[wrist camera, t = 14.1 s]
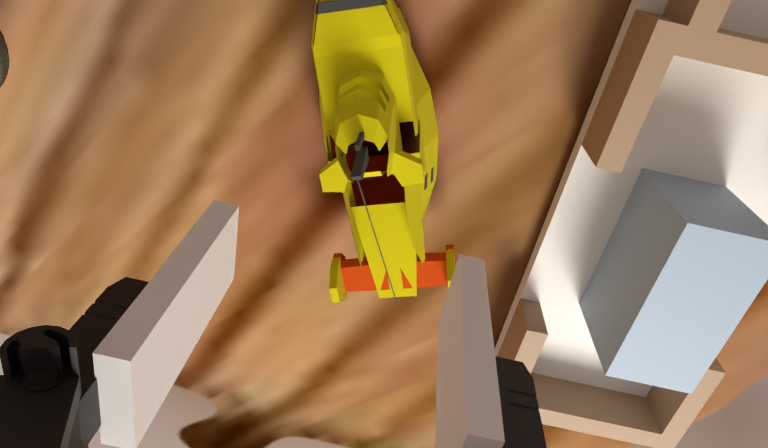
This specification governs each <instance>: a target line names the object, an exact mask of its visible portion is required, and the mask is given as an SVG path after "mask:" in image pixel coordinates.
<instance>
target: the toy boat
mask: <svg viewBox="0 0 768 448" xmlns="http://www.w3.org/2000/svg"><path fill="white" fill-rule="evenodd" d="M311 47H312V53H313V58H314V64H315V70H316V75H317V81H318V87H319V92H320V97H319V104H320V113H321V122H322V130H323V139H324V146H325V149H326V152H327V155H328V164H327V165H326V166H324V167H323V168H322V169H321V170H320V174H319V176H320V181H321V186H322V190H323V192H342V193H343V196H344V200H345V204H346V209H347V213H348V217H349V221H350V225H351V230H352V234H353V238H354V242H355V246H356V251H357V255H358V258H356V259H347V260H345V256H344V255H343V254H342V253H336V254H334V256H333V260H332V264H331V269H330V285H329V290H330V294H331V298H332V302H333V303H335V302H342V301H344V300H346V297H347V293H348V291H371V290H377V292H378V295H379V298H395V300H396V298H397V297H413V296H417V288H419V287H430V286H441V285H448V289H449V286H450V283H451V280H452V277H453V274H454V271H455V268H456V264H455V253H454V245H446V252H445V253H425V248H424V236H423V221H424V218H425V214H426V211H427V208H428V204H429V201H430V197H431V194H432V191H433V187H434V184H435V181H436V177H437V158H438V139H439V132H438V127H437V122H436V116H435V111H434V106H433V100H432V95H431V90H430V86H429V84H428V82H427V80H426V77H425V75H424V73H423V71H422V69H421V66H420V64H419V62H418V60H417V58H416V56H415V53H414V51H413V49H412V47H411V40H410V33H409V28H408V26H407V24H406V22H405V20H404V17H403V15H402V13H401V11H400V9H399V7H398V6H396V4H395V2H394V0H316V4H315V12H314V21H313V29H312V38H311ZM411 121H413V124H414V131H415V136H417V140H418V145H419V150H420V152H418V153H412V154H411V153H410V152H404V151H403V147H402V140H401V132H400V125H399V123H401V122H411ZM388 138H389V139H388ZM364 140H366V141H370V142H373V143H375V145H376V146H377V148H378V150H379V151H380V150H381V148H382V147H383V145H384V144H385V143H386V141H387V140H388V150H389V154H387V155H377V156H369V155H368V148H367V146H362V144H363V141H364ZM354 142H356V143H355V145H354V147H355V151H357V152H356V156H355V161H354V158H353V155H352V151H351V148H350V144H352V143H354ZM396 303H397V300H396ZM397 306H398V303H397Z"/></svg>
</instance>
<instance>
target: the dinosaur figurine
mask: <svg viewBox="0 0 768 448" xmlns="http://www.w3.org/2000/svg"><path fill="white" fill-rule="evenodd" d="M8 68H9V55H8V49H7V45H6V43H5V39H4V36H3V34H2V32H1V31H0V87H1V86H2V85H3V83H4V81H5V79H6V76H7V73H8Z"/></svg>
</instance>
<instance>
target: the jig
mask: <svg viewBox="0 0 768 448" xmlns="http://www.w3.org/2000/svg"><path fill="white" fill-rule="evenodd" d="M642 168H645V169H649V170H654V171H658V172H663V173H667V174H672V175H676V176H681V177H685V178H689V179H694V180H698V181H703V182H707V183H712V184H716V185H721V186H725V187H727V188H728V189H729V190H730V191H731V192H732V193H733V194H735V195H736V196H737V197H738V198H739V199H740V200H741V201H742V202H743V203H744V204H745V205H746V206H748V207H749V208H750V209H751V210H752V211H753V212H754V213H755V214H756V215H757V216H758V217H759V218H761V219H762V220H763V221H764V222H765V223H766V224H767V225H768V0H631V3H630V5H629V8H628V10H627V13H626V16H625V18H624V21H623V23H622V26H621V28H620V31H619V33H618V36H617V38H616V41H615V44H614V46H613V49H612V51H611V54H610V56H609V59H608V61H607V64H606V66H605V69H604V72H603V74H602V77H601V79H600V82H599V84H598V87H597V89H596V92H595V94H594V97H593V99H592V102H591V105H590V107H589V110H588V112H587V115H586V117H585V120H584V122H583V125H582V127H581V130H580V133H579V135H578V138H577V140H576V143H575V145H574V148H573V150H572V153H571V155H570V158H569V161H568V163H567V166H566V168H565V171H564V173H563V176H562V178H561V181H560V183H559V186H558V189H557V191H556V194H555V196H554V199H553V201H552V204H551V206H550V209H549V211H548V214H547V216H546V219H545V222H544V224H543V227H542V229H541V232H540V234H539V237H538V239H537V242H536V244H535V247H534V250H533V252H532V255H531V257H530V260H529V262H528V265H527V267H526V270H525V272H524V275H523V278H522V280H521V283H520V285H519V288H518V290H517V293H516V295H515V298H514V300H513V303H512V305H511V308H510V311H509V313H508V316H507V318H506V321H505V323H504V326H503V328H502V331H501V333H500V336H499V339H498V341H497V344H496V346H495V356H497V357H501V358H506V359H510V360H515V361H520V362H523V363H524V365H525V366H526V368H527V369H528V371H529V373H530V374H531V376H532V377H533V379H534V384H535V390H536V398H537V400H538V406H539V412H540V416H541V421H542V424H546V425H550V426H555V427H560V428H564V429H569V430H574V431H578V432H583V433H588V434H592V435H597V436H602V437H607V438H611V439H616V440H621V441H625V442H630V443H635V444H639V445H645V446H649V447H653V448H675V446H676V445H677V443H678V442H679V440H680V439H681V438H682V436H683V435H684V433H685V432H686V430H687V429H688V427H689V426H690V424H691V423H692V422H693V420H694V419H695V417H696V416H697V414H698V413H699V411H700V410H701V408H702V407H703V405H704V404H705V403H706V401H707V400H708V398H709V397H710V395H711V394H712V392H713V391H714V389H715V388H716V387H717V385H718V384H719V382H720V381H721V379H722V378H723V376H724V375H725V371H724V370H723V368H722V366H721V365H720V363H719V362H718V360H717V358H715V359H714V361H713V362H712V364H711V365H710V367H709V368H708V370H707V371H706V373H705V374H704V376H703V377H702V379H701V380H700V382H699V383H698V385H697V387H696V388H695V390H694V391H693V393H692V394H689V393H685V392H680V391H675V390H671V389H666V388H661V387H657V386H652V385H647V384H643V383H638V382H634V381H629V380H624V379H620V378H615V377H610V376H606V375H605V373H604V371H603V368H602V365H601V363H600V360H599V357H598V354H597V352H596V349H595V346H594V343H593V341H592V338H591V335H590V332H589V330H588V327H587V324H586V321H585V319H584V316H583V313H582V311H581V308H580V305H579V302H580V300H581V298H582V296H583V294H584V292H585V290H586V287H587V285H588V283H589V281H590V279H591V277H592V275H593V273H594V270H595V268H596V266H597V264H598V262H599V260H600V258H601V255H602V253H603V251H604V249H605V247H606V245H607V243H608V240H609V238H610V236H611V234H612V232H613V230H614V228H615V226H616V223H617V221H618V219H619V217H620V215H621V213H622V211H623V208H624V206H625V204H626V202H627V200H628V198H629V196H630V193H631V191H632V189H633V187H634V185H635V183H636V181H637V178H638V176H639V174H640V172H641V170H642Z"/></svg>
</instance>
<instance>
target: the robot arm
mask: <svg viewBox="0 0 768 448" xmlns="http://www.w3.org/2000/svg"><path fill="white" fill-rule="evenodd" d="M238 214H239V206H238V205H233V204H229V203H224V202H220V201H215V200H214V201H213V202H212V204H211V205H210V206H209V207H208V209H207V210H206V211H205V212H204V214H203V215H202V216H201V217H200V219H199V220H198V221H197V222H196V224H195V225H194V226H193V227H192V229H191V230H190V231H189V233H188V234H187V235H186V236H185V238H184V239H183V240H182V241H181V243H180V244H179V245H178V246H177V248H176V249H175V250H174V251H173V253H172V254H171V255H170V256H169V258H168V259H167V260H166V261H165V263H164V264H163V265H162V266H161V268H160V269H159V270H158V271H157V273H156V274H155V275H154V276H153V278H152V279H151V280H150V281H149V282H146V281H141V280H137V279H132V278H128V277H125V278H123V279H122V280H120V281H118V282H116V283H114V284H113V285H111V286H109V287H107V288H106V289H105V291H104V292H103V293H102V294H101V295H100V296H99V297H98V298H97V299H96V301H95V303H94V304H92V305H91V306H90V307H89V308H88V309H87V311H86V312H85V315H82V316H81V317H80V318H79V320H78V321H77V322H76V323H75V324H74V325H73V326H72V327H71V328H70V330H66V329H64V328H62V327H59V326H50V325H44V326H37V327H31V328H28V329H25V330H22V331H20V332H17V333H16V334H14V335H13V336H11V337H10V338H8V339H7V340H6V341H5V342H4V343H3V344H2V346H1V347H0V358H1V363H2V368H3V373H4V375H0V448H88V444H89V442H90V440H91V439H92V438H93V436H94V435H95V433H96V432H97V430H98V429H99V427H100V436H101V444H106V445H110V446H115V447H120V448H137V446H138V445H139V443H140V441H141V439H142V438H143V436H144V434H145V432H146V431H147V429H148V427H149V426H150V424H151V422H152V420H153V419H154V417H155V415H156V413H157V412H158V410H159V408H160V406H161V405H162V403H163V401H164V399H165V398H166V396H167V394H168V392H169V391H170V389H171V387H172V385H173V384H174V382H175V380H176V378H177V377H178V375H179V373H180V371H181V370H182V368H183V366H184V365H185V363H186V361H187V359H188V358H189V356H190V354H191V352H192V351H193V349H194V347H195V345H196V344H197V342H198V340H199V338H200V337H201V335H202V333H203V331H204V330H205V328H206V326H207V324H208V323H209V321H210V319H211V317H212V316H213V314H214V312H215V310H216V309H217V307H218V305H219V303H220V302H221V300H222V298H223V297H224V295H225V293H226V291H227V290H228V288H229V286H230V284H231V283H232V281H233V279H234V269H235V255H236V242H237V228H238ZM436 448H546V442H545V437H544V432H543V427H542V421H541V416H540V412H539V406H538V400H537V398H536V390H535V384H534V379H533V377H532V376H531V374H530V373H529V371H528V369H527V368H526V366H525V365H524V363H523V362H520V361H515V360H510V359H506V358H501V357H497V356H495V349H494V340H493V332H492V323H491V314H490V305H489V296H488V287H487V279H486V270H485V261H484V260H483V259H479V258H474V257H470V256H465V255H459V258H458V261H457V264H456V268H455V271H454V274H453V277H452V280H451V283H450V286H449V289H448V292H447V296H446V299H445V302H444V305H443V308H442V311H441V314H440V317H439V321H438V335H437V393H436Z"/></svg>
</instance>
